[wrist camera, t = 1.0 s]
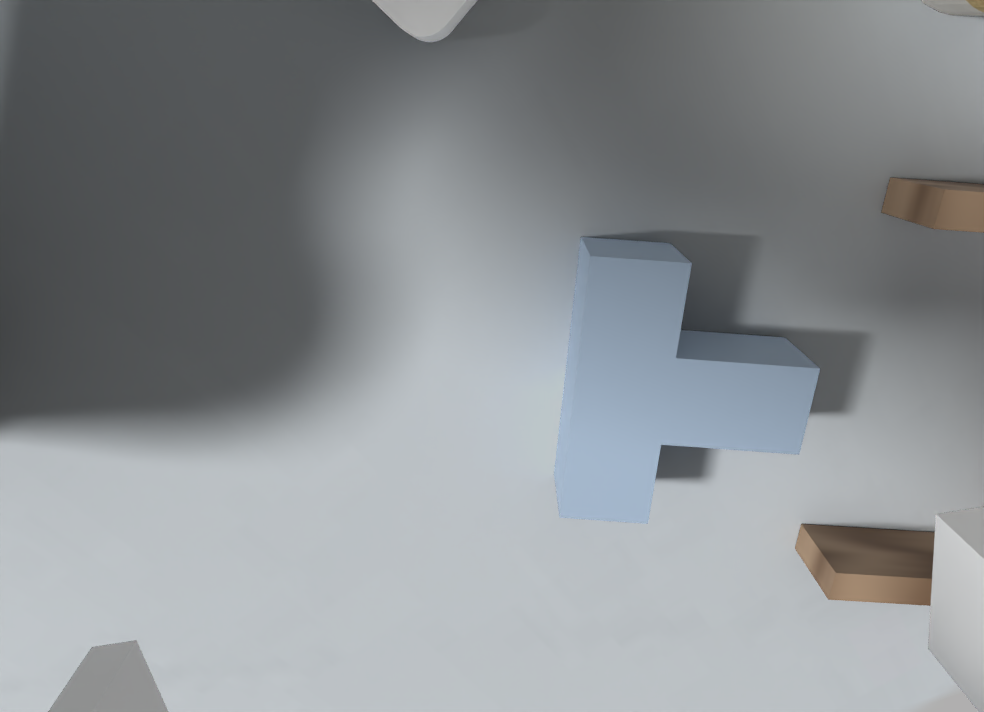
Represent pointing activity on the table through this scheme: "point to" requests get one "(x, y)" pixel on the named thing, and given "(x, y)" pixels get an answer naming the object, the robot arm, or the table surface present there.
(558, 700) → the table surface
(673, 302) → the t block
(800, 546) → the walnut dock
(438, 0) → the white slotted block
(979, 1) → the coffee cup
